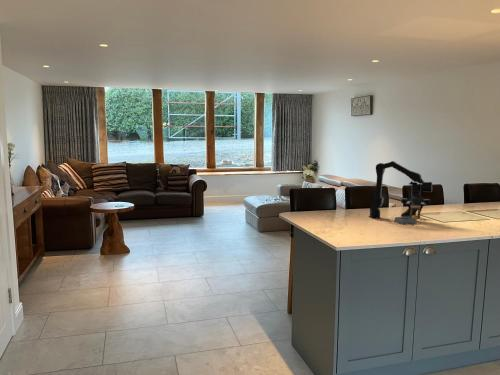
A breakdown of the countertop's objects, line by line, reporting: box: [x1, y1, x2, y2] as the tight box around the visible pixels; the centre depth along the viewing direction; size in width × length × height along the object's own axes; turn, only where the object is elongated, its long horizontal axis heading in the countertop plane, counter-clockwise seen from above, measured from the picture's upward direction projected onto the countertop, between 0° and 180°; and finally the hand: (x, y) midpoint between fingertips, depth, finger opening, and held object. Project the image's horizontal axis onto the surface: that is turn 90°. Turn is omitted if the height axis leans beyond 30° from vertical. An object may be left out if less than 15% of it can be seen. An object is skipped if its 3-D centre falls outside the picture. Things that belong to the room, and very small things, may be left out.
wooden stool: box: [410, 205, 421, 220], centre depth 290 cm, size 6×6×8 cm
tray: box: [394, 216, 417, 225], centre depth 284 cm, size 10×10×3 cm
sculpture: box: [400, 202, 420, 217], centre depth 305 cm, size 6×13×13 cm, turn 52°
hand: (415, 213), depth 290 cm, fingers closed on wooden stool, 6 cm apart
